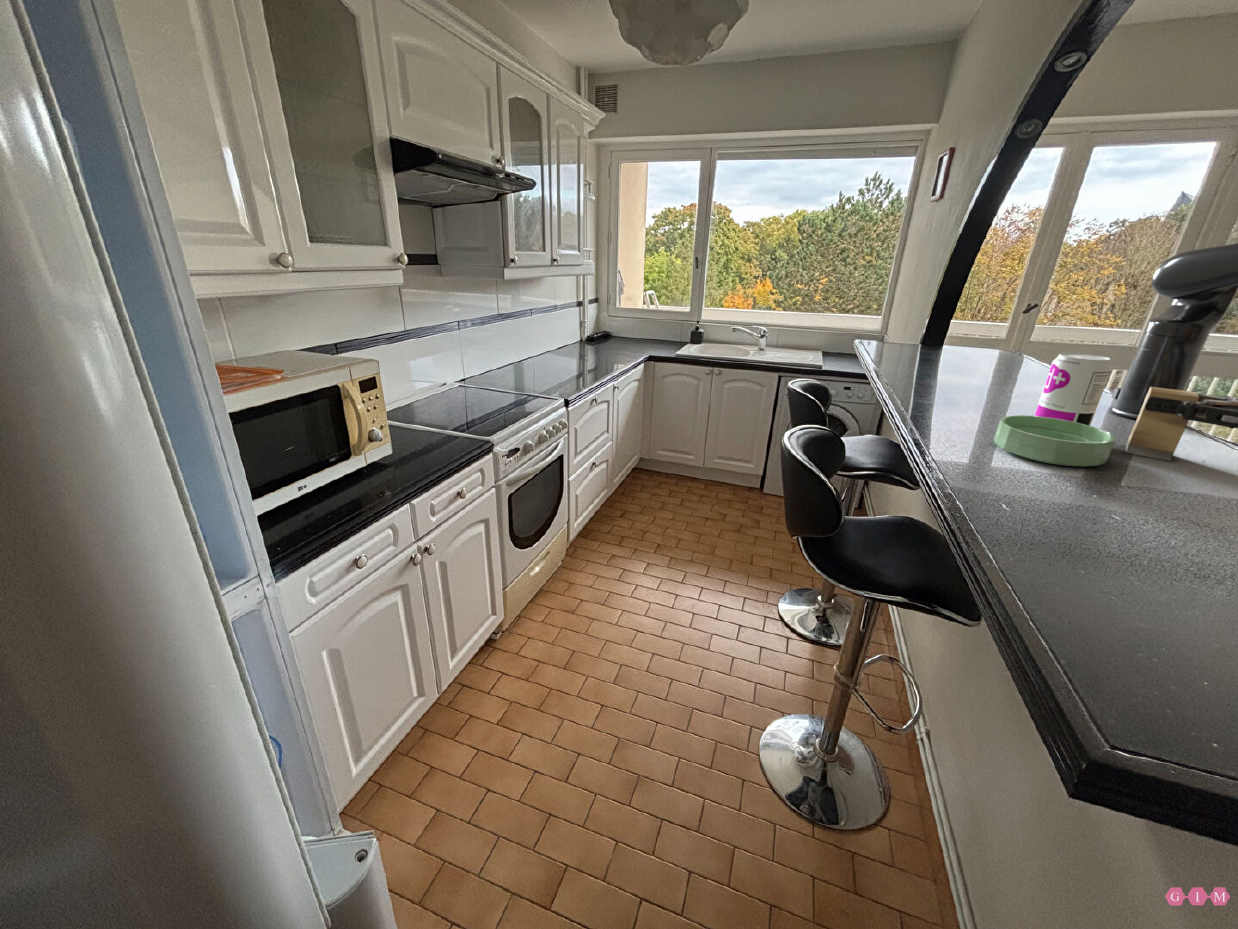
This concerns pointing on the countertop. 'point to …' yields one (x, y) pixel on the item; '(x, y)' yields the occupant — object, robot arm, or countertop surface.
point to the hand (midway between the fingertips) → (1146, 400)
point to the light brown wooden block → (1159, 427)
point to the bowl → (1054, 440)
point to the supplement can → (1074, 387)
